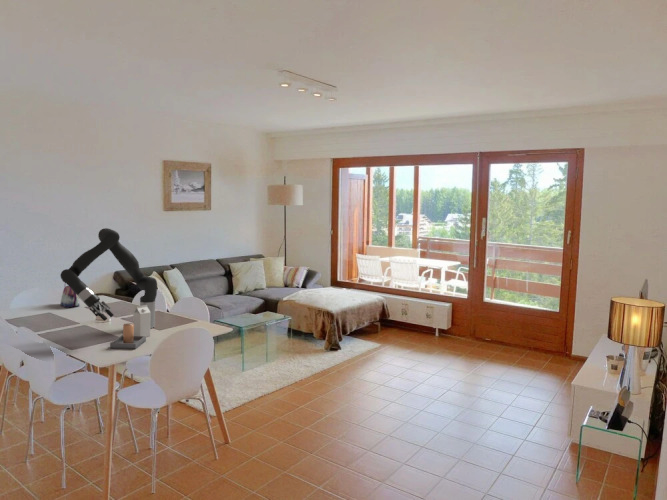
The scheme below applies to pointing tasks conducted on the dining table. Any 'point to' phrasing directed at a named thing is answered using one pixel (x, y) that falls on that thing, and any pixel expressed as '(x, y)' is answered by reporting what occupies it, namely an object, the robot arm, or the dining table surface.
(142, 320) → the milk carton
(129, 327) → the tan cylinder
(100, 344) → the dining table surface
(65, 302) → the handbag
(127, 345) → the tray
